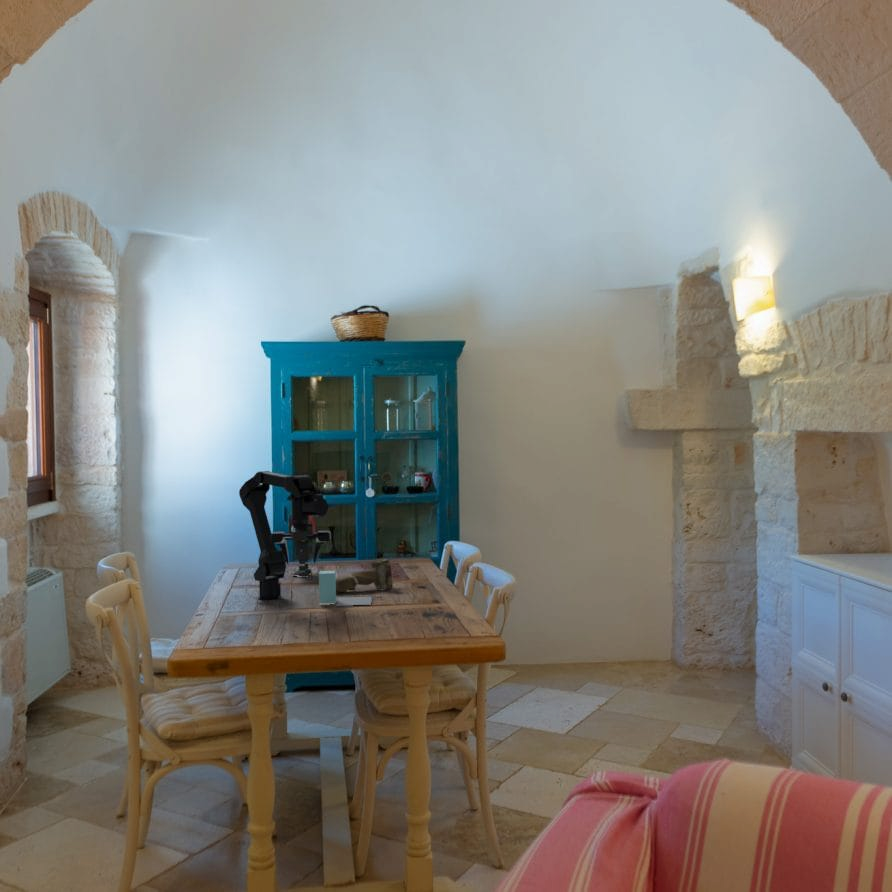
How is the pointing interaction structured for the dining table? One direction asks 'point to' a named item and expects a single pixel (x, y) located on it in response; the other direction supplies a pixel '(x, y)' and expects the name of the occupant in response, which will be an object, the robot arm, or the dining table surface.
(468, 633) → the dining table surface
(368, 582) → the sculpture
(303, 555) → the toy robot
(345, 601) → the felt mat
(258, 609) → the dining table surface
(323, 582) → the teal block
